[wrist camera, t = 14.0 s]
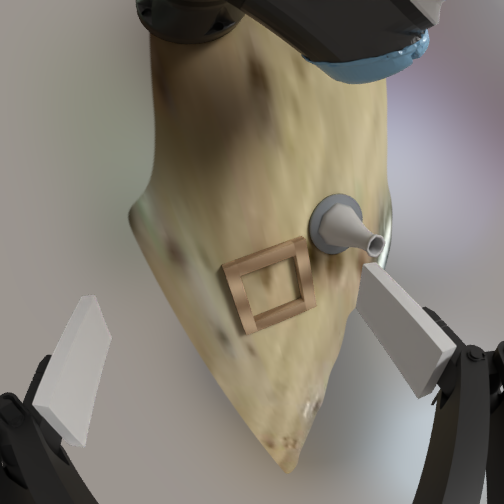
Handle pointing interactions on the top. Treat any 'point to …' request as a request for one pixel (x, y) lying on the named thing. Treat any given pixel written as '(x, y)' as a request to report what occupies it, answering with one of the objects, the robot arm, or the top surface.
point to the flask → (349, 230)
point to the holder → (263, 259)
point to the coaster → (318, 216)
